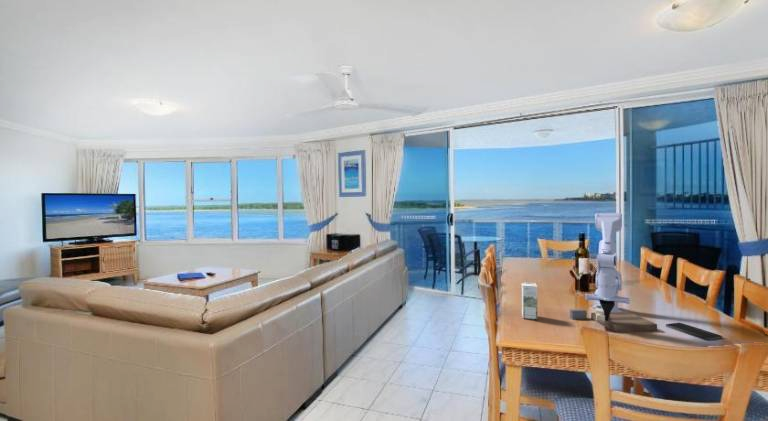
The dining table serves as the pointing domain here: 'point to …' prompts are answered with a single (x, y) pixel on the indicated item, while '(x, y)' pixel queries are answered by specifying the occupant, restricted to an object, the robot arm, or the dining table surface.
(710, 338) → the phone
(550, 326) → the dining table surface
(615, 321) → the stool seat
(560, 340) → the dining table surface
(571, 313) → the stop block
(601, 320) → the folding leg
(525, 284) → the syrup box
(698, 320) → the dining table surface
